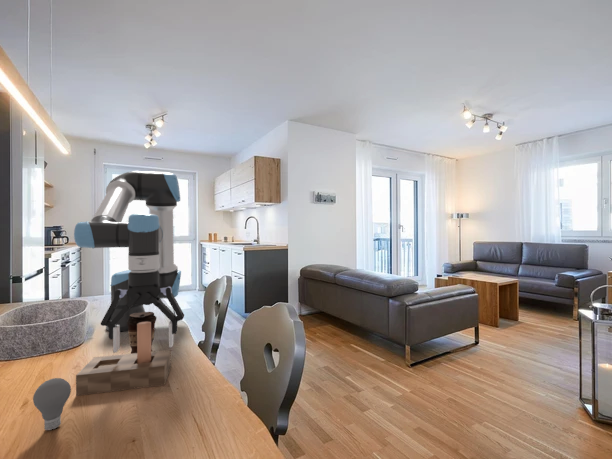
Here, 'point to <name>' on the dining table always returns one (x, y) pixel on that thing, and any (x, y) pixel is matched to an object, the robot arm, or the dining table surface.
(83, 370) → the bore block
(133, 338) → the coffee cup
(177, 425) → the dining table surface
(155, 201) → the robot arm
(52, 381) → the light bulb
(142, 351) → the dowel
